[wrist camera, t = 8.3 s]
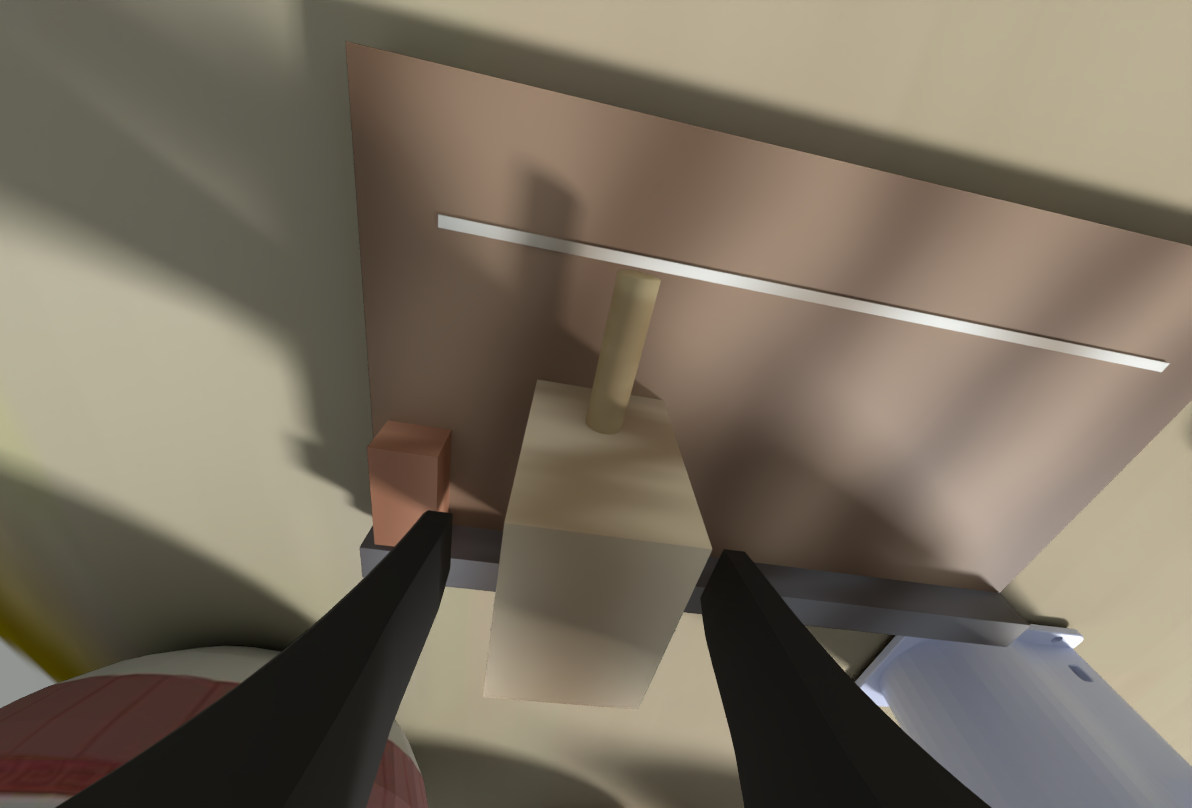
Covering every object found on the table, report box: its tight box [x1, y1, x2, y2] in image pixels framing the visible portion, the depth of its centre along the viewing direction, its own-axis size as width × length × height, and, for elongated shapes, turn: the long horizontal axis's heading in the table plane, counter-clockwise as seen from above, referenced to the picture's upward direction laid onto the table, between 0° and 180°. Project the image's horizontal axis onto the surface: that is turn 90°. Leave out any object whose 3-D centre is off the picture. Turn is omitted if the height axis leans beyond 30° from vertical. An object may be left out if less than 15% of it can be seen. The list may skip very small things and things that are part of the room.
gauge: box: [483, 269, 712, 710], centre depth 11 cm, size 4×10×6 cm, turn 169°
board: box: [346, 41, 1192, 647], centre depth 14 cm, size 26×16×3 cm, turn 79°
